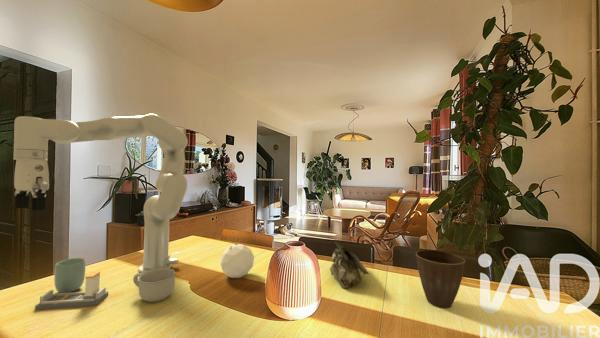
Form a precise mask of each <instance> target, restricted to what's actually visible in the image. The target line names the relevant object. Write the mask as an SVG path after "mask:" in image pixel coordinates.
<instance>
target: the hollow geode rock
mask: <svg viewBox="0 0 600 338" xmlns="http://www.w3.org/2000/svg"><path fill="white" fill-rule="evenodd" d="M334 242H335V245H336V247H337V248H335V249H334V250H333V252H332V259H331V260H332V262H333V263H332V264H331V266H330V268H329V270H330V275H331V276H333V277H334V278H335V280H336V282H337V283H338V284H339V286H340V287H341V288H343V289H349V288H350V287H351V286H354V287H355V286H357V285H358V283H360V282H361V280H362V276H361V274H360V273H363V274H364V275H368V276H369V275H370V272H369V271H368V270H367V267H365V266H364V265H363V263H362V262H361V261H360V259H359V257H358V256H357V255H356V254H355V253H353V252H352V251H350V250H349V249H347V247H346V246H345V244H343V243H342V242H340V241H338V240H336V241H334Z"/></svg>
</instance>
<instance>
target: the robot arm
mask: <svg viewBox="0 0 600 338" xmlns="http://www.w3.org/2000/svg"><path fill="white" fill-rule="evenodd" d="M13 127H14V130H13V131H14V133H13V134H14V135H13V136H14V137H13V161H16V162H15V166H14V176H13V177H14V178H13V185H14V189H13V190H14V193H13V194H14V195H13V196H14V209H25V208H27V209H28V208H29V207H30V211H33V212H34V211H43V210H45V209H46V199H47V193H48V190H49V189H50V175H49V164H48V159H49V158H48V156H49V154H48V153H49V145H48V144H49V140H50V141H52V142H54V143H57V144H71V143H72V144H73V143H82V142H93V141H111V140H121V139H122V140H123V139H131V138H141V137H150V136H153V137H154V138H156V139H157V144H158V147H159V148H160V149H161V151H162V153H163V157H164V159H163V164H162V165H161V168H160V171H159V173H158V176H157V178H156V181H155V188H156V190H157V191H158V192H160V194H159V195H158V194H157V195H151V197H148V198H147V199H146V200H145V202H144V204H143V220H144V229H143V230H144V232H143V235H144V236H143V255H142V256H143V258H142V264H141V265H139V266H138V269H137V271H138V273H145V272H147V271H150V270H154V269H159V268H170V269H172V266H173V265H178V264H179V259H178V258H176V257H174V258H171V255H170V254H169V245H170V243H169V242H170V220H172V219H174V217H176V216H177V214H178V213H179V211H180V208H181V206H182V203H183V201H184V197H185V194H186V192H187V189H188V181H187V178H186V176H184V175H183V174H182V173H183V171H184V167H185V164H186V163H185V162H186V159H185V158H186V157H185V153H184V151H183V150H184V149H186V147H187V146H188V142H189V141H188V138H187V136H186V134H185V133H184V132H183V131H181V130H180V129H179V128H178V127H176V126H174V125H173V124H171V123H170V122H168V120H166V119H165V118H163V117H162V116H160V115H157V114H155V113H148V114H145V115H135V116H134V115H133V116H132V115H131V116H111V117H110V116H109V117H103V118H100V119H96V120H90V121H74V122H73V121H71V120H68V119H49V118H48V119H47V118H40V117H35V116H25V115H24V116H17V117H16V118H15V119H14V126H13ZM29 192H30V193H31V195H32V197H31V198H30V195H29Z"/></svg>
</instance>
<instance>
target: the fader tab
mask: <svg viewBox="0 0 600 338" xmlns="http://www.w3.org/2000/svg"><path fill="white" fill-rule="evenodd" d="M100 278H101V271H92V272H90V273H89V274H88V275H85V278H84V280H85V286H84V287H85V290H84V292H85V295H84V296H83V299H91V298H95V295H96V293H97V292H98V291H99V290H100V282H101V281H100Z"/></svg>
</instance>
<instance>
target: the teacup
mask: <svg viewBox="0 0 600 338" xmlns="http://www.w3.org/2000/svg"><path fill="white" fill-rule="evenodd" d="M175 280H176V270H174V269H173V268H159V269H154V270H150V271H147V272H145V273H141V272H137V273H136V274H135V275H133V279H132V281H133V284H134V286H136V287H137V288H138V295H139V297H140V298H141V300H143V301H145V302H147V303H157V302H162V301H164V300H166V299H167V298H168V297H169V296H170V295H171V294H172V293H173V291H174V289H175V283H176V281H175Z"/></svg>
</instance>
